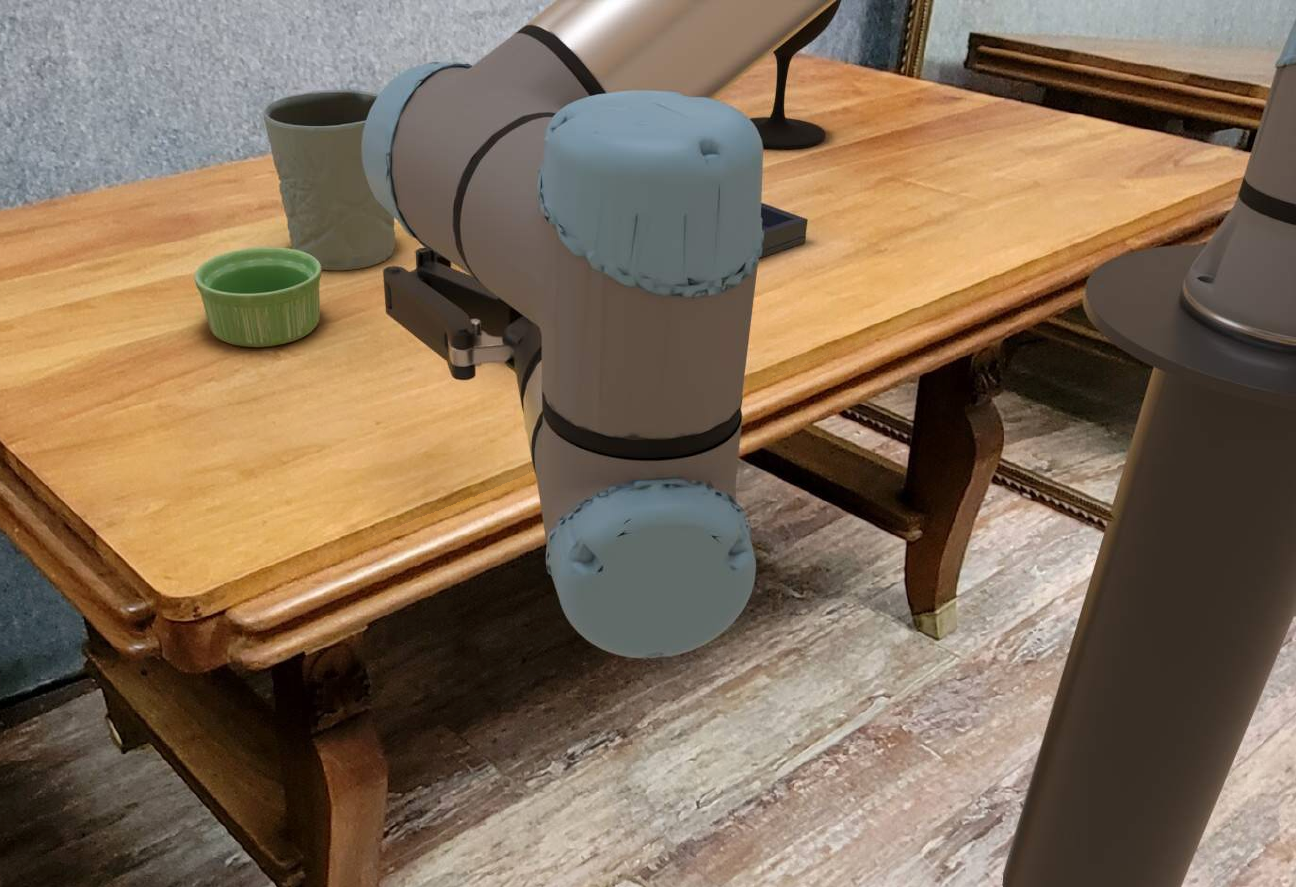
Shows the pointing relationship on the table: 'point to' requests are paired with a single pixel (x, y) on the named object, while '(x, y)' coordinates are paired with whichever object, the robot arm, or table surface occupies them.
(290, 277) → the ramekin
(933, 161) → the table surface
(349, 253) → the gray cup
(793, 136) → the wine glass
